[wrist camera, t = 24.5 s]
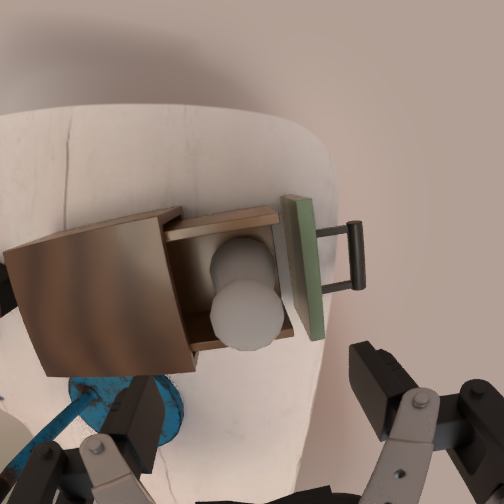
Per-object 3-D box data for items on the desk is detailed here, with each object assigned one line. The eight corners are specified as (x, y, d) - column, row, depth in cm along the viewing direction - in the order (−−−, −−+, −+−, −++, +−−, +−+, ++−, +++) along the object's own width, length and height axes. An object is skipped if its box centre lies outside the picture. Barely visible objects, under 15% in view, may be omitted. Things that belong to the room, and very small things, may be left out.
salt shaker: (218, 227, 28) (206, 263, 16) (278, 240, 29) (312, 284, 16) (206, 285, 29) (188, 358, 17) (264, 297, 30) (284, 373, 17)
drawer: (339, 188, 29) (372, 190, 22) (348, 295, 32) (378, 326, 24) (145, 219, 29) (116, 231, 21) (169, 324, 31) (153, 364, 24)
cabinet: (181, 205, 30) (157, 215, 20) (205, 321, 32) (195, 372, 23) (54, 233, 29) (2, 252, 20) (83, 334, 32) (46, 376, 23)
